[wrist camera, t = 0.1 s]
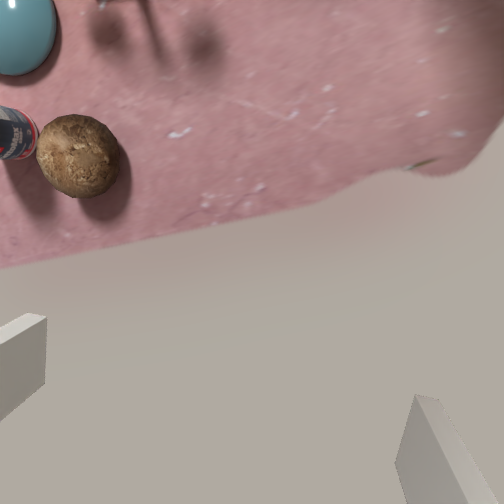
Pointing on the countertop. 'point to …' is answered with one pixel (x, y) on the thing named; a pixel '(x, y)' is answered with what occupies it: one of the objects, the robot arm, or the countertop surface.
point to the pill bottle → (16, 134)
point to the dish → (25, 34)
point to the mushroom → (78, 155)
